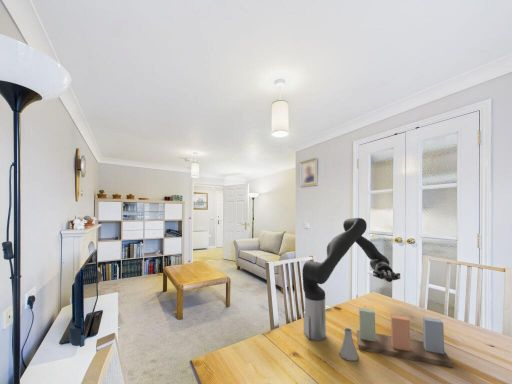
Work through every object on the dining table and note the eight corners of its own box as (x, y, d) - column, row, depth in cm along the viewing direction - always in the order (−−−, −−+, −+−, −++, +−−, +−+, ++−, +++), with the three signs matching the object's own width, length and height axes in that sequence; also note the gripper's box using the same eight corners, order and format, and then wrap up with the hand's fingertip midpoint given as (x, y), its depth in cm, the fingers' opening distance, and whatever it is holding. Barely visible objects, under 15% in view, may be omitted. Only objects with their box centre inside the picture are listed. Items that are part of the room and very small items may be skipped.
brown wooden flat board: (358, 349, 98) (358, 344, 98) (356, 334, 109) (356, 330, 109) (452, 367, 87) (452, 362, 87) (440, 348, 98) (440, 344, 98)
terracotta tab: (392, 348, 95) (392, 317, 96) (391, 343, 98) (390, 314, 98) (410, 351, 93) (409, 320, 94) (408, 347, 96) (407, 316, 96)
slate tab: (426, 350, 93) (425, 320, 94) (423, 346, 96) (422, 316, 97) (444, 354, 91) (443, 322, 92) (441, 349, 94) (440, 319, 95)
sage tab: (360, 338, 102) (359, 310, 102) (359, 335, 104) (359, 307, 105) (375, 341, 100) (374, 312, 100) (374, 337, 102) (374, 309, 103)
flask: (357, 351, 96) (357, 326, 96) (359, 363, 89) (358, 336, 90) (339, 348, 98) (338, 323, 99) (339, 359, 92) (338, 332, 92)
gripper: (370, 262, 130) (373, 270, 114) (397, 264, 125) (405, 273, 109) (370, 276, 130) (374, 286, 113) (397, 278, 125) (405, 289, 109)
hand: (389, 279), depth 111 cm, fingers closed
